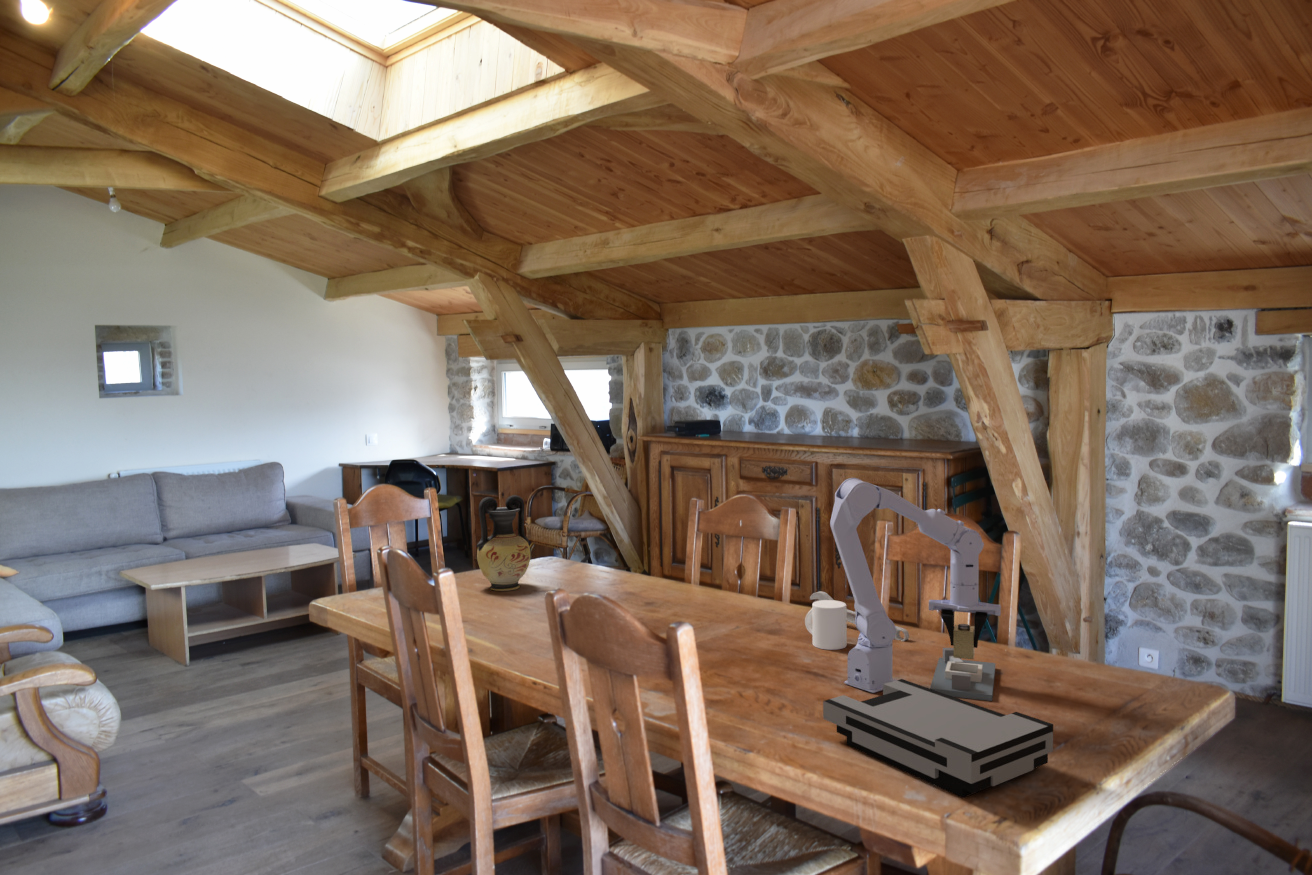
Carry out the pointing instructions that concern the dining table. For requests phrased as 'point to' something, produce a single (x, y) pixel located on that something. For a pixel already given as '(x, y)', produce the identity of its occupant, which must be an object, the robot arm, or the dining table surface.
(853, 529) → the robot arm
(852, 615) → the wrench
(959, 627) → the block
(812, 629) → the mug
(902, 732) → the game console
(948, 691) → the base
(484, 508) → the amphora
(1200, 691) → the dining table surface
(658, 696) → the dining table surface
